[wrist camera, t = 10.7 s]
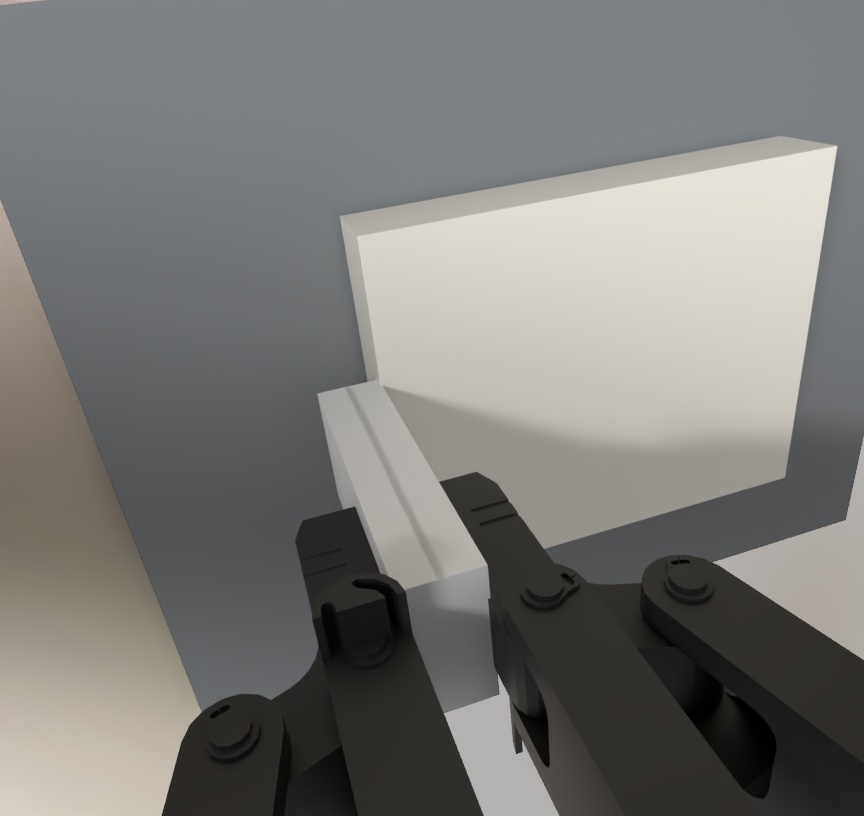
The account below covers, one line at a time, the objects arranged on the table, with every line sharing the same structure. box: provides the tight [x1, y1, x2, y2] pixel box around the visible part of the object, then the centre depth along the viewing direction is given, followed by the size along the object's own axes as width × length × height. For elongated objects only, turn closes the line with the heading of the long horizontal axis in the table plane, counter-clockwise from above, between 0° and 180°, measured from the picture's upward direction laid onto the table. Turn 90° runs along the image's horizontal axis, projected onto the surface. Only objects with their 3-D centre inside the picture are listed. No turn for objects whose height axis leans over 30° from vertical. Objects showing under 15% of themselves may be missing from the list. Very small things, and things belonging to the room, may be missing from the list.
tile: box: [340, 136, 837, 549], centre depth 18 cm, size 2×9×11 cm
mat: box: [0, 0, 864, 712], centre depth 19 cm, size 22×18×1 cm
